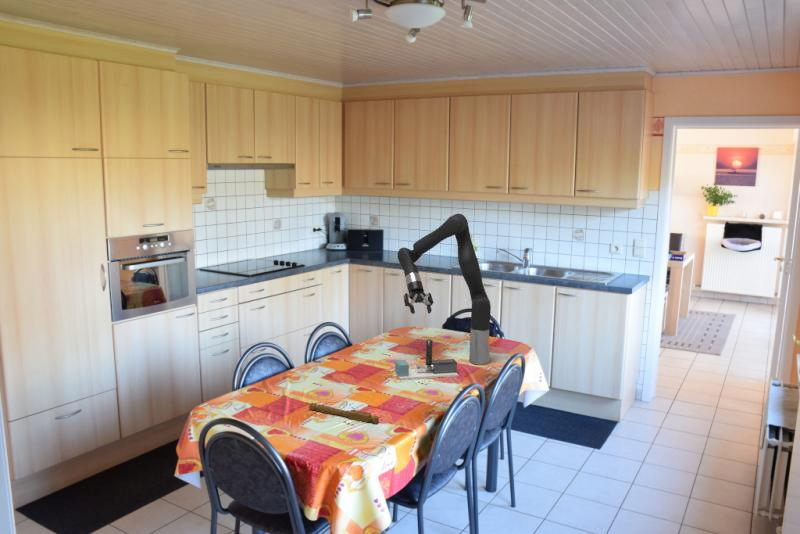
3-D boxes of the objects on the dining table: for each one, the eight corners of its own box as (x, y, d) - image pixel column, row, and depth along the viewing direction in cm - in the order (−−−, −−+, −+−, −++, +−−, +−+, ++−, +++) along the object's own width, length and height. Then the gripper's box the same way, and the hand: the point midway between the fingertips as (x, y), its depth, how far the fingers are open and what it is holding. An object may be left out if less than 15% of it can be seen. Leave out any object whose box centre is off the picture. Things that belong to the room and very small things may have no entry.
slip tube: (450, 368, 305) (451, 338, 302) (453, 370, 301) (454, 340, 299) (415, 370, 301) (416, 339, 298) (417, 372, 297) (418, 341, 295)
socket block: (404, 370, 302) (404, 359, 301) (408, 376, 294) (408, 364, 293) (395, 371, 301) (395, 360, 300) (399, 376, 293) (399, 365, 292)
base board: (451, 369, 309) (451, 367, 309) (458, 376, 298) (458, 374, 298) (394, 372, 302) (394, 370, 302) (399, 380, 292) (399, 377, 292)
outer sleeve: (453, 369, 306) (453, 359, 305) (456, 372, 301) (457, 362, 300) (430, 370, 303) (431, 360, 303) (434, 373, 298) (434, 363, 298)
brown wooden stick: (312, 401, 257) (380, 415, 244) (312, 408, 257) (380, 422, 245) (308, 403, 254) (376, 418, 242) (308, 411, 254) (376, 425, 242)
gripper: (403, 280, 312) (410, 309, 304) (430, 279, 318) (437, 308, 310) (398, 288, 318) (405, 317, 310) (424, 287, 323) (432, 316, 316)
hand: (421, 313), depth 310 cm, fingers open, 8 cm apart
